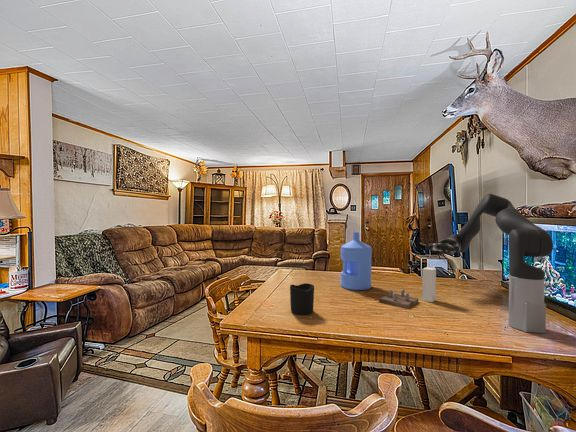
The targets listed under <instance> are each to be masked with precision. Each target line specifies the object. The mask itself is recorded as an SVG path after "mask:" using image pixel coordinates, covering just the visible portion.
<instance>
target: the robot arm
mask: <svg viewBox="0 0 576 432" xmlns="http://www.w3.org/2000/svg"><path fill="white" fill-rule="evenodd" d="M483 213H484V214H486V215H489V216H492V217H495V224H496V226H497V227H498V228H499V229H500V231H501V232H503V233H504V234H506V235H507V236H508V241H507V243H508V268H509V272H508V273H509V275H508V276H509V277H508V278H509V282H508V325H509V327H512V328H514V329H516V330H520V331H522V332H525V333H535V334H536V333H537V334H546V331H547V330H546V327H547V326H546V325H547V324H546V323H547V304H546V303H545V280H546V279H545V276H546V272H545V270H544V269H542V268H539V267H536V266H533V265H531V264H529V263H527V262H526V261H525V257H526V258H527V257H530V258H543V257H544V258H545V257H547V256H549V255H550V254H551V253H553V251H554V242H553V238H552V237H551V235H550V234H549V232H547V231H546V230H545V229H543V227H542V228H541V227H540V226H538V225H536V224H534V223H533V222H532V221H531V220H529V219H528V217H527V218H526V216H525V215H523V213H522V212H520V211H519V210H518V209H517V208H515V207H514V205H513V203H512V202H511V201H510V200H509V199H508V198H505V197H502V196H499V195H496V194H493V193H487V194H485V195H484V196H483V197H482V199H481V200H480V201H479V203H478V204H477V206H476V207H475V209H474V211H473V212H472V214H470V216H469V219H468V220H467V221H466V223H465V224H464V225H463V226H462V227H461V228H460V229H459V230H458V232H457V233H452V234H450V235H449V236H448V237H447V238H443V239H441V240H439V242H438V243H432V242H431V243H427V244H425V250H427V251H435V252H438V251H439V252H440V253H441V254H444V255H450V254H453V253H454V252H455V253H459V254H461V253H465V252H466V251H467V250H468V249H469V247H470V246H471V242H472V240H473V239H474V238H475V236H477V235H478V234H479V232H480V230H481V226H482V225H481V223H482V222H481V216H482V215H483Z"/></svg>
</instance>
